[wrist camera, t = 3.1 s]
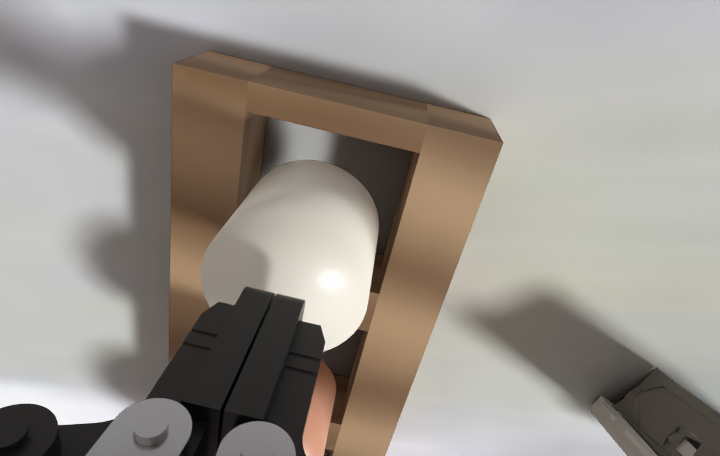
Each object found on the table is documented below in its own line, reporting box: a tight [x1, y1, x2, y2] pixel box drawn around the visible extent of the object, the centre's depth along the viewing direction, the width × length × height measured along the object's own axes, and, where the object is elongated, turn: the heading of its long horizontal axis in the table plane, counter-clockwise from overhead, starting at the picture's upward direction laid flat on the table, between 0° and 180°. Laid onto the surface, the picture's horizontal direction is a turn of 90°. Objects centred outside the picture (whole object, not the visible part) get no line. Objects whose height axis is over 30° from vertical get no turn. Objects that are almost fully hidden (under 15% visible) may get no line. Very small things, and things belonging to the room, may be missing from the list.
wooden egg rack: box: [169, 51, 503, 456], centre depth 22 cm, size 24×11×3 cm, turn 168°
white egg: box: [201, 160, 379, 352], centre depth 15 cm, size 5×5×5 cm
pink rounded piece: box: [303, 360, 336, 456], centre depth 19 cm, size 5×5×5 cm
